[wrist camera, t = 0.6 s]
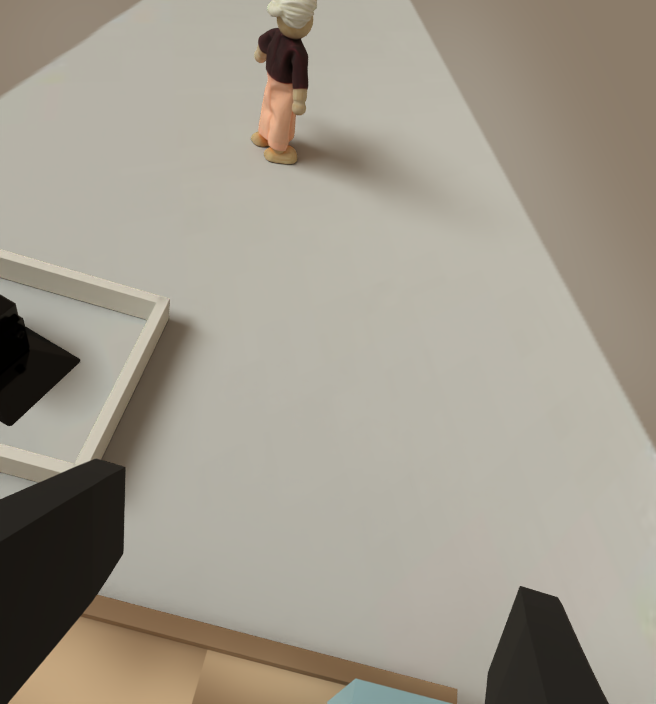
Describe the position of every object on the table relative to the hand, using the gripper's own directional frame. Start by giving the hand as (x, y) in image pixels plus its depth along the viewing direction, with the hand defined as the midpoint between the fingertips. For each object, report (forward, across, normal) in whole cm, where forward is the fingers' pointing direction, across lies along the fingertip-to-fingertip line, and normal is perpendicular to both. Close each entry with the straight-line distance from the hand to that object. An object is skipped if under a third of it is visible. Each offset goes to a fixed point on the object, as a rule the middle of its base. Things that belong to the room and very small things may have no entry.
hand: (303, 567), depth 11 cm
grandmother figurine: (+44, +16, -1) cm, 46 cm away
